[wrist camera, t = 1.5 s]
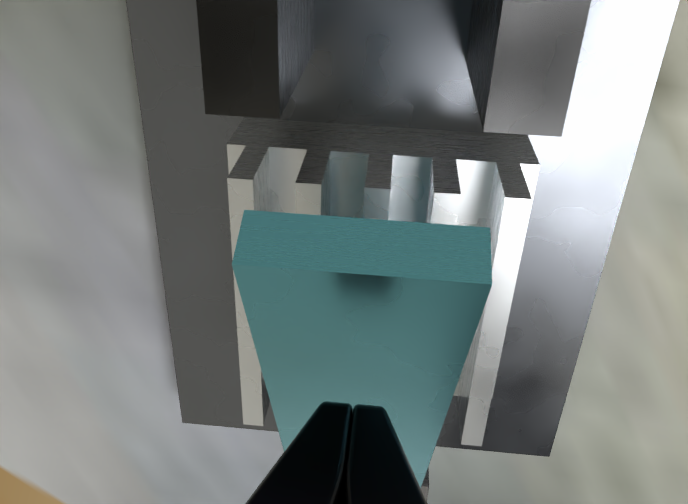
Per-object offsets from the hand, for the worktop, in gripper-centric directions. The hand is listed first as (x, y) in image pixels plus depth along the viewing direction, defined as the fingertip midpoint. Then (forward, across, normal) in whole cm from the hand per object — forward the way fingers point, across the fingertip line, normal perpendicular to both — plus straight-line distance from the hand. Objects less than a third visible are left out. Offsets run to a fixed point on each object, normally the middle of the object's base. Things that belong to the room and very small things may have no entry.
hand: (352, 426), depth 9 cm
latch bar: (+4, 0, +4) cm, 6 cm away
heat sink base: (+13, 0, +4) cm, 13 cm away
